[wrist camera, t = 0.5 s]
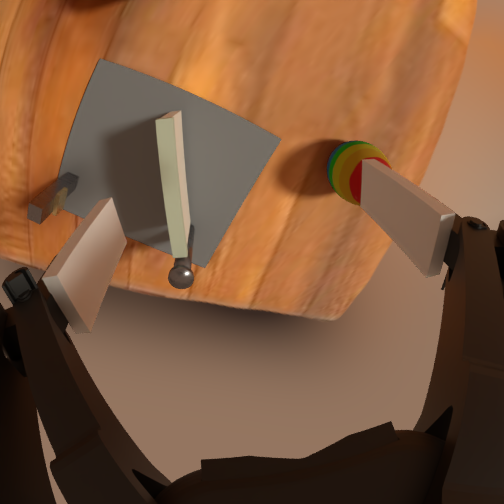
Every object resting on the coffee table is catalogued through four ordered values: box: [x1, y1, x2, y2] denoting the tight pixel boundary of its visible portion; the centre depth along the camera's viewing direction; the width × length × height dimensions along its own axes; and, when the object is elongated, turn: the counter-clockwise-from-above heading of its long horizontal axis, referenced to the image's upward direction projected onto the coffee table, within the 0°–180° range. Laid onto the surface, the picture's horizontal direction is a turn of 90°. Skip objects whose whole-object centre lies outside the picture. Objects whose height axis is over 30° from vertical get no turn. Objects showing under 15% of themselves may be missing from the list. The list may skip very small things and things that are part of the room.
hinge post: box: [168, 224, 195, 289], centre depth 36 cm, size 3×3×12 cm
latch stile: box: [27, 172, 79, 224], centre depth 29 cm, size 3×3×11 cm
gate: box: [155, 110, 190, 258], centre depth 31 cm, size 15×2×9 cm, turn 0°
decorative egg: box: [327, 141, 392, 206], centre depth 34 cm, size 8×8×10 cm
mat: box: [58, 59, 281, 268], centre depth 35 cm, size 26×22×1 cm
